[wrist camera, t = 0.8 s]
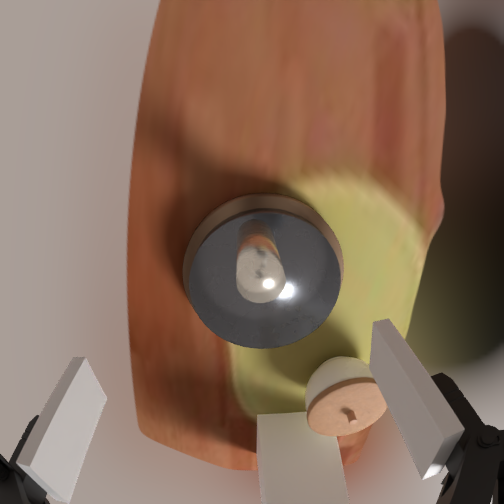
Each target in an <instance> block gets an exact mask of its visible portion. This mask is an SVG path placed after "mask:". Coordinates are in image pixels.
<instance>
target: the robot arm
mask: <svg viewBox="0 0 504 504" xmlns="http://www.w3.org/2000/svg"><path fill="white" fill-rule="evenodd" d="M369 370H370V372H371V373H372V375H373V377H374V379H375V381H376V383H377V385H378V387H379V389H380V391H381V393H382V395H383V397H384V399H385V402H386V404H387V406H388V407H389V410H390V412H391V414H392V416H393V418H394V420H395V422H396V424H397V426H398V428H399V430H400V433H401V434H402V437H403V439H404V441H405V443H406V445H407V448H408V450H409V452H410V454H411V456H412V458H413V461H414V463H415V465H416V467H417V469H418V472H419V474H420V476H421V479H422V480H423V479H425V478H428V477H430V476H433V475H435V474H438V473H440V472H441V470H442V469H443V467H444V466H445V465H446V467H447V469H448V471H449V472H448V473H447V475H446V477H445V478H444V479H443V481H442V483H441V484H443V487H442V490H441V492H440V495H439V498H438V500H437V503H436V504H490V502H491V498H492V495H493V503H492V504H504V430H498V429H497V428H496V427H493V426H490V425H485V424H484V423H483V422H482V421H481V419H480V418H479V416H478V415H477V413H476V412H475V410H474V409H473V408H472V406H471V405H470V403H469V402H468V400H467V399H466V398H465V397H464V395H463V393H462V392H461V391H460V390H459V388H458V387H457V385H456V384H455V383H454V381H453V380H452V379H451V378H450V377H448V376H447V375H445V374H443V373H439V374H436V375H434V376H430V375H429V374H428V373H427V371H426V370H425V368H424V367H423V365H422V364H421V363H420V361H419V360H418V358H417V357H416V355H415V354H414V353H413V351H412V350H411V348H410V347H409V346H408V344H407V343H406V341H405V340H404V339H403V337H402V336H401V334H400V333H399V332H398V330H397V329H396V328H395V326H394V325H393V324H392V322H391V321H390V320H389V318H388V319H384V320H380V321H375V322H373V329H372V342H371V354H370V365H369ZM106 400H107V397H106V395H105V393H104V392H103V390H102V388H101V386H100V384H99V382H98V380H97V379H96V377H95V375H94V373H93V371H92V369H91V367H90V365H89V363H88V361H87V359H86V358H85V357H76V358H73V359H72V361H71V362H70V364H69V365H68V367H67V369H66V370H65V372H64V374H63V375H62V377H61V379H60V380H59V382H58V384H57V386H56V387H55V389H54V391H53V392H52V394H51V396H50V398H49V400H48V401H47V403H46V405H45V407H44V409H43V411H42V412H41V414H40V416H39V415H37V416H35V417H34V418H33V419H32V420H31V421H30V422H29V424H28V426H27V428H26V430H25V433H23V435H22V439H21V440H20V441H19V443H18V445H17V447H16V449H15V451H14V453H13V455H12V457H11V459H10V461H9V463H8V462H7V461H6V459H5V458H4V457H3V456H2V455H1V454H0V504H50V503H49V501H48V500H47V499H46V495H47V493H48V494H49V495H50V496H51V497H52V498H54V499H55V500H57V501H61V502H65V503H70V500H71V497H72V494H73V490H74V487H75V484H76V481H77V478H78V475H79V473H80V470H81V467H82V464H83V461H84V458H85V455H86V453H87V450H88V447H89V444H90V441H91V439H92V436H93V434H94V431H95V428H96V425H97V423H98V420H99V418H100V415H101V413H102V410H103V408H104V405H105V403H106Z"/></svg>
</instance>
